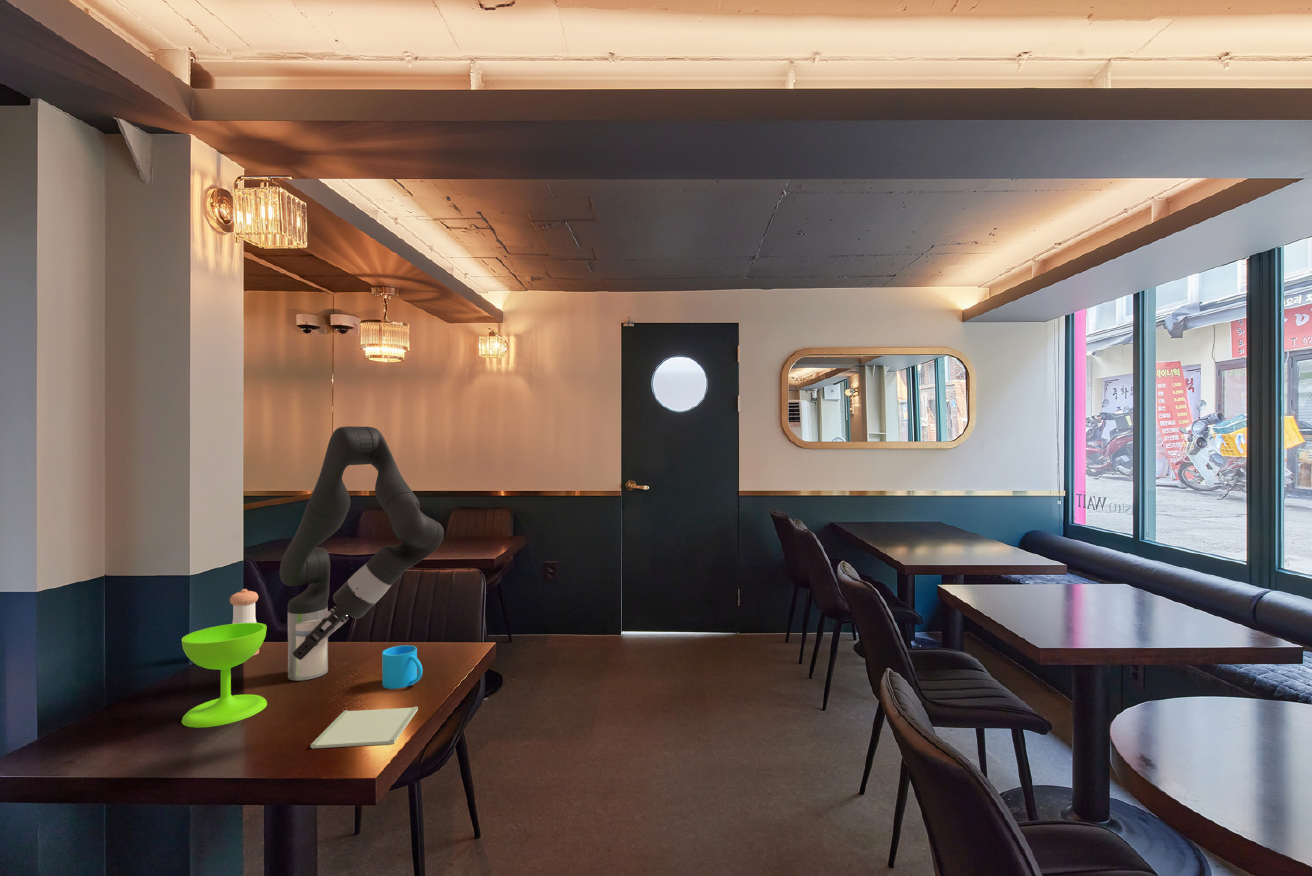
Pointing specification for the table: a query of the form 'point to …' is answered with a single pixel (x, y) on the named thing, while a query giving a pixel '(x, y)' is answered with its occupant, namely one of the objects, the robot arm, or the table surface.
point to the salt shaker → (244, 607)
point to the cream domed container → (316, 657)
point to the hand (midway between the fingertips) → (302, 651)
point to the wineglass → (224, 671)
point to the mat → (365, 728)
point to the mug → (400, 667)
